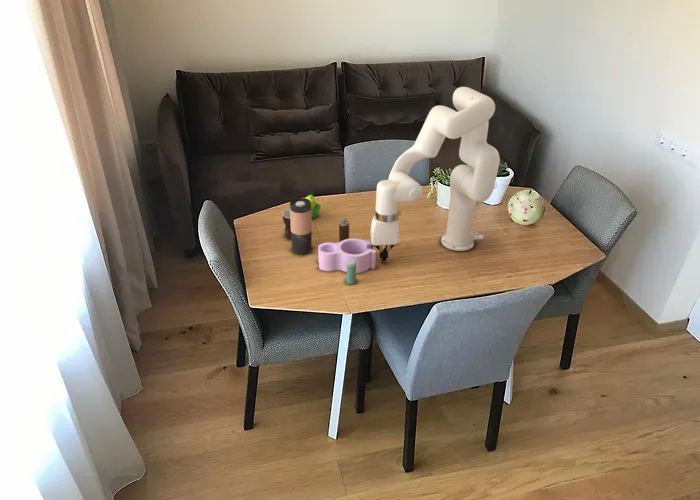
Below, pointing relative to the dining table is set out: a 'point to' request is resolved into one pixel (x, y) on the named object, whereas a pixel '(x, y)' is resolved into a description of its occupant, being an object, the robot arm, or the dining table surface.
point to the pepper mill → (343, 230)
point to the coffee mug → (287, 223)
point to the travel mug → (301, 225)
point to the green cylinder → (351, 272)
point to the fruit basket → (313, 206)
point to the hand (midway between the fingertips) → (383, 259)
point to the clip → (346, 255)
